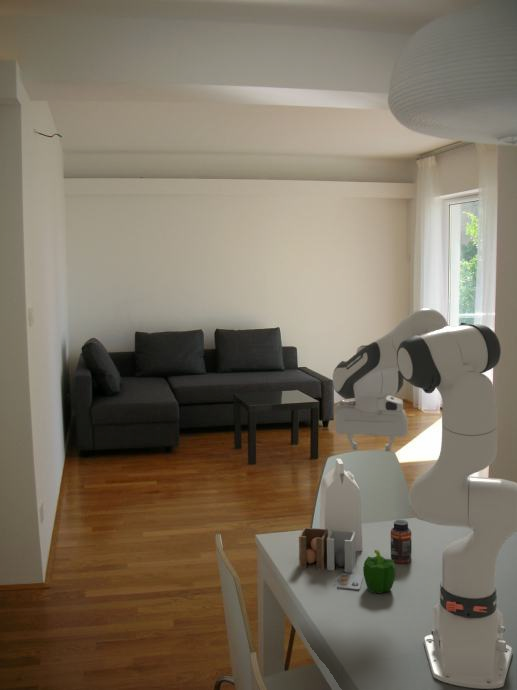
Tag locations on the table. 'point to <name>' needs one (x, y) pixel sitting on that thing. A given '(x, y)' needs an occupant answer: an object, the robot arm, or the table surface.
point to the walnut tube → (305, 544)
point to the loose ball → (314, 543)
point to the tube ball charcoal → (340, 559)
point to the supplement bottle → (401, 542)
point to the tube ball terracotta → (311, 555)
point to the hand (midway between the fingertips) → (371, 450)
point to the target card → (350, 582)
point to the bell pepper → (379, 573)
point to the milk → (341, 503)
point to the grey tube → (341, 548)
